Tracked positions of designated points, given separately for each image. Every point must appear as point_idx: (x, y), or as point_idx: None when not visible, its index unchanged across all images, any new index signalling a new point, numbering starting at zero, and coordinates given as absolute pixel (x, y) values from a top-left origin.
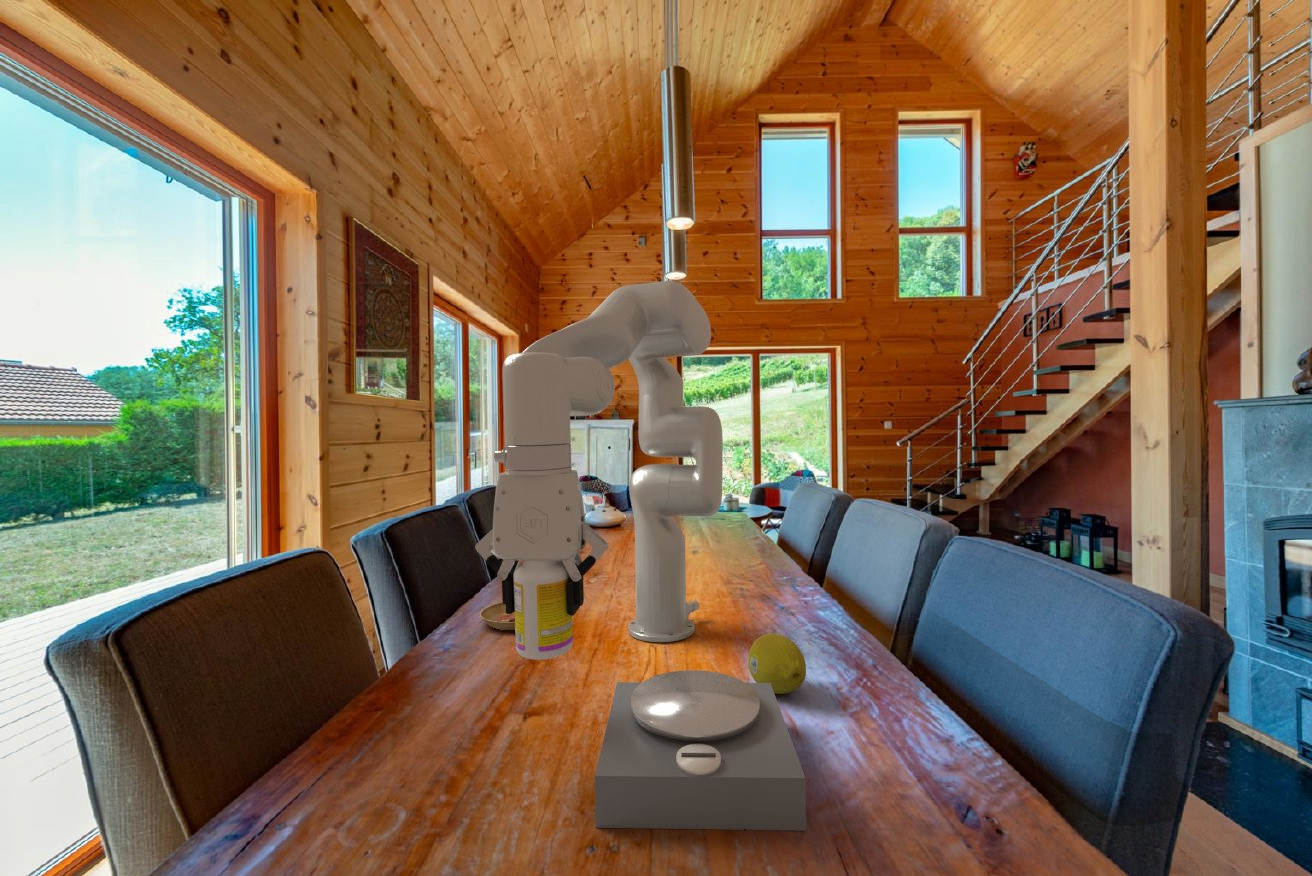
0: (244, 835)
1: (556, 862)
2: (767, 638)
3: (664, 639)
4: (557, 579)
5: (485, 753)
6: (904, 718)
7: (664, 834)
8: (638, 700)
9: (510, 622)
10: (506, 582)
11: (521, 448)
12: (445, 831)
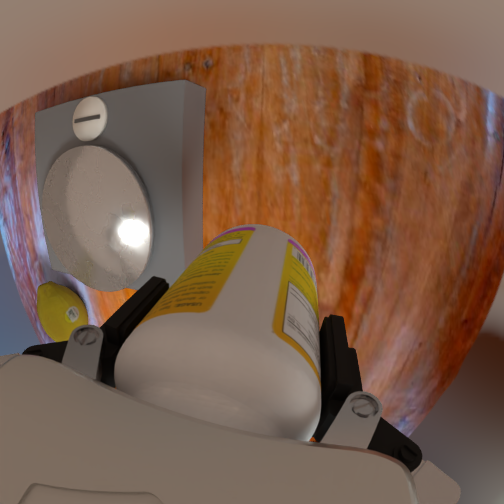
0: None
1: (237, 47)
2: (52, 330)
3: None
4: (133, 332)
5: (352, 224)
6: (17, 247)
7: None
8: (139, 219)
9: None
10: (347, 381)
11: None
12: (359, 90)
